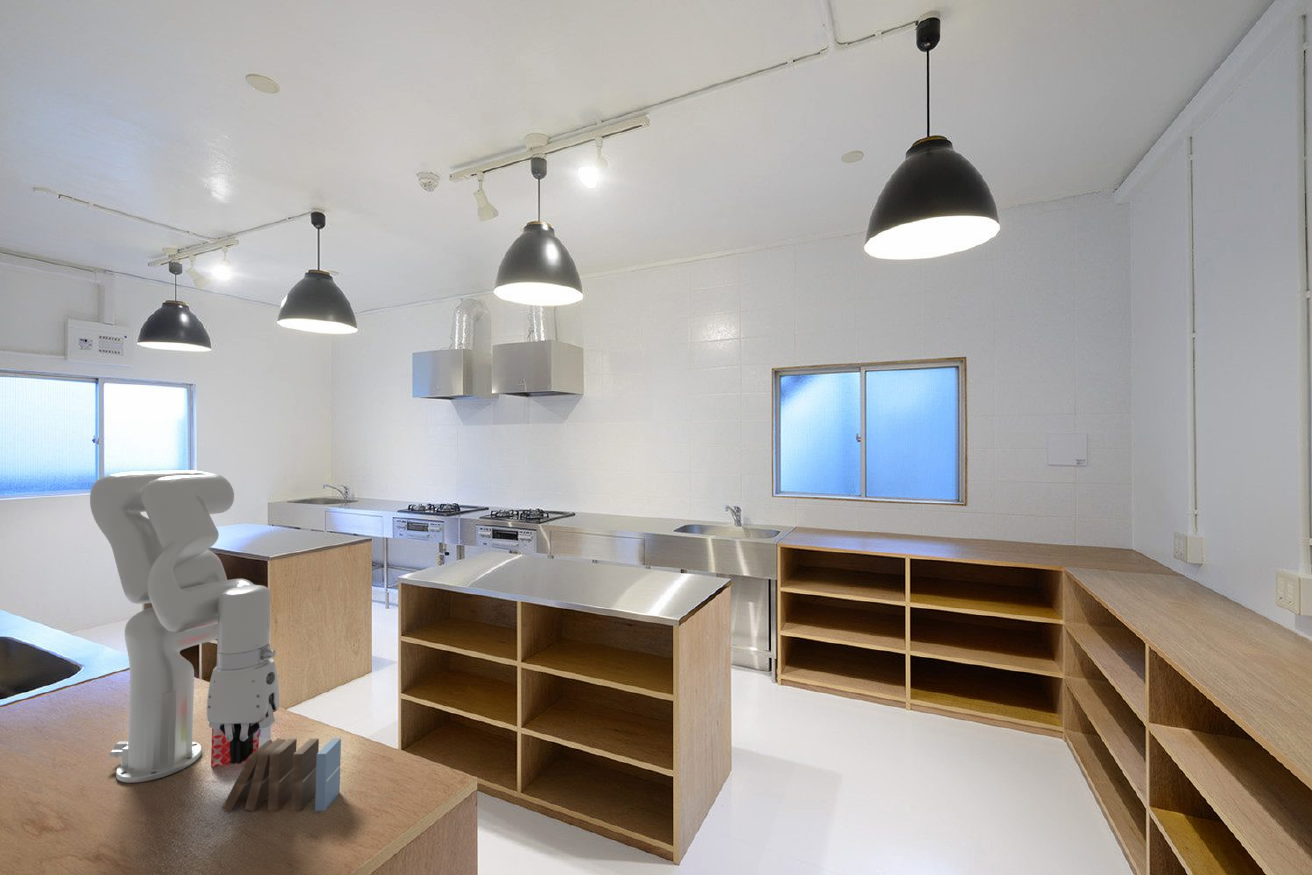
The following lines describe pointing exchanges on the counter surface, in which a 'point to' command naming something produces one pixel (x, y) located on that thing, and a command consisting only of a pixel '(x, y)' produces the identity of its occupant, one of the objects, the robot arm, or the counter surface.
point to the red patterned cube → (222, 746)
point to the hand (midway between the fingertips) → (241, 759)
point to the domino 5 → (328, 774)
